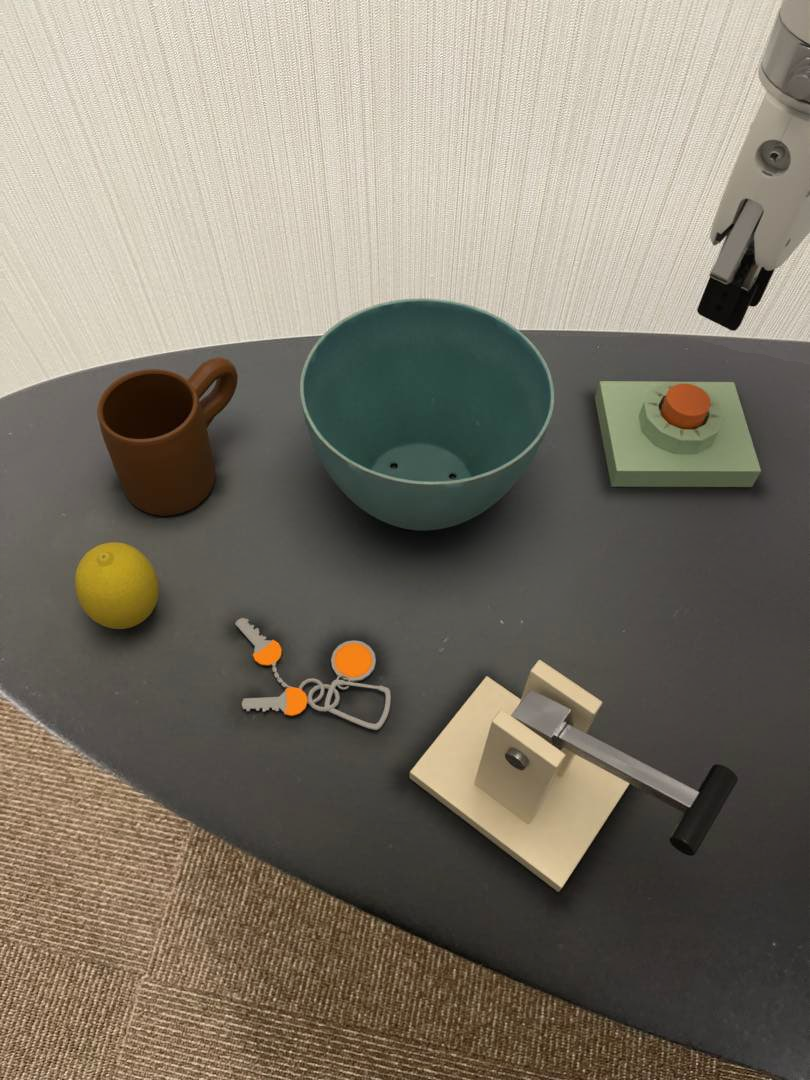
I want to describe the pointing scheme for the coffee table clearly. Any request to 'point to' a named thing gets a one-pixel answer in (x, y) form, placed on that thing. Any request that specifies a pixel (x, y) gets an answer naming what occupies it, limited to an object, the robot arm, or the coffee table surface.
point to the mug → (165, 433)
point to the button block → (674, 438)
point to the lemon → (116, 585)
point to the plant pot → (425, 409)
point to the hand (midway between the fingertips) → (728, 307)
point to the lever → (633, 770)
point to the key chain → (347, 663)
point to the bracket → (522, 777)
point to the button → (685, 406)
